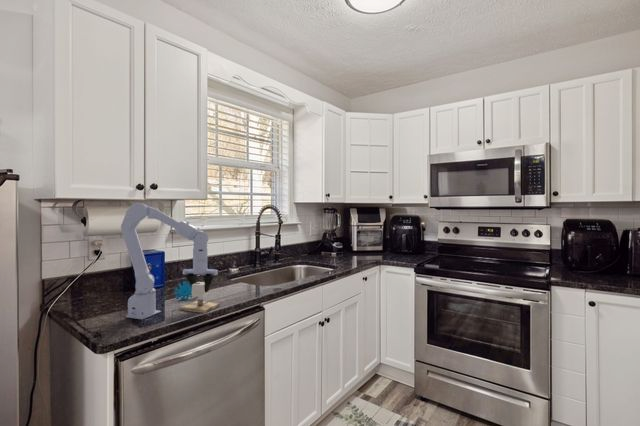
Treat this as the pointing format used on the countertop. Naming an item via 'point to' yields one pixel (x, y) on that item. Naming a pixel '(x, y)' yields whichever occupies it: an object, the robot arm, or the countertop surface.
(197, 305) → the shaft plate
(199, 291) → the white cube
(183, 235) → the robot arm
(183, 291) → the gear
